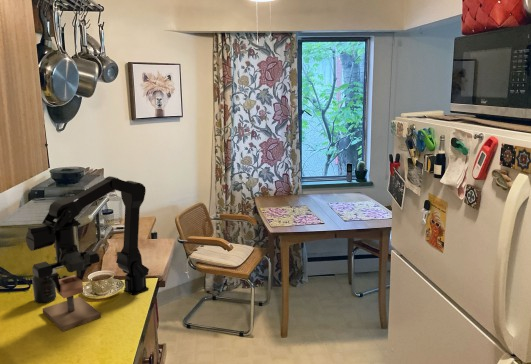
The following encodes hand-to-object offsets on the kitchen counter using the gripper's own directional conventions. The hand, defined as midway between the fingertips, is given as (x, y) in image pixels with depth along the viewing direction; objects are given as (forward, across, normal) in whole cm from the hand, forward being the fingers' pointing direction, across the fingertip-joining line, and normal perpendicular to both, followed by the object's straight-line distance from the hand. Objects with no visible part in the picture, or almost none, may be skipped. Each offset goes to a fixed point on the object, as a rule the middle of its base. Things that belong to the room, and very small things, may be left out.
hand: (69, 288), depth 142 cm
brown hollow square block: (+1, 0, 0) cm, 1 cm away
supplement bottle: (+9, -2, +17) cm, 19 cm away
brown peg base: (+9, 0, 0) cm, 9 cm away
